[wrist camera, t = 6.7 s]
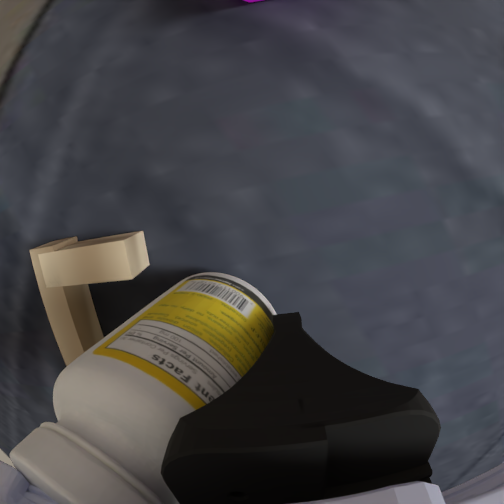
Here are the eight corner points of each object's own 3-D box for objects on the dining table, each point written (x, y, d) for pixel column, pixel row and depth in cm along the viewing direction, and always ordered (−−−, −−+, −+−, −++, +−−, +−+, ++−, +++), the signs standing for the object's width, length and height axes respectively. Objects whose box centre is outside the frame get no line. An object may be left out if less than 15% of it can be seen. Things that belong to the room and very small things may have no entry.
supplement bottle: (205, 388, 14) (90, 542, 5) (149, 293, 14) (-29, 416, 5) (308, 364, 12) (225, 594, 3) (249, 247, 12) (22, 436, 3)
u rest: (116, 419, 15) (104, 441, 13) (54, 240, 13) (29, 250, 11) (193, 424, 15) (187, 449, 13) (142, 224, 13) (122, 233, 11)
